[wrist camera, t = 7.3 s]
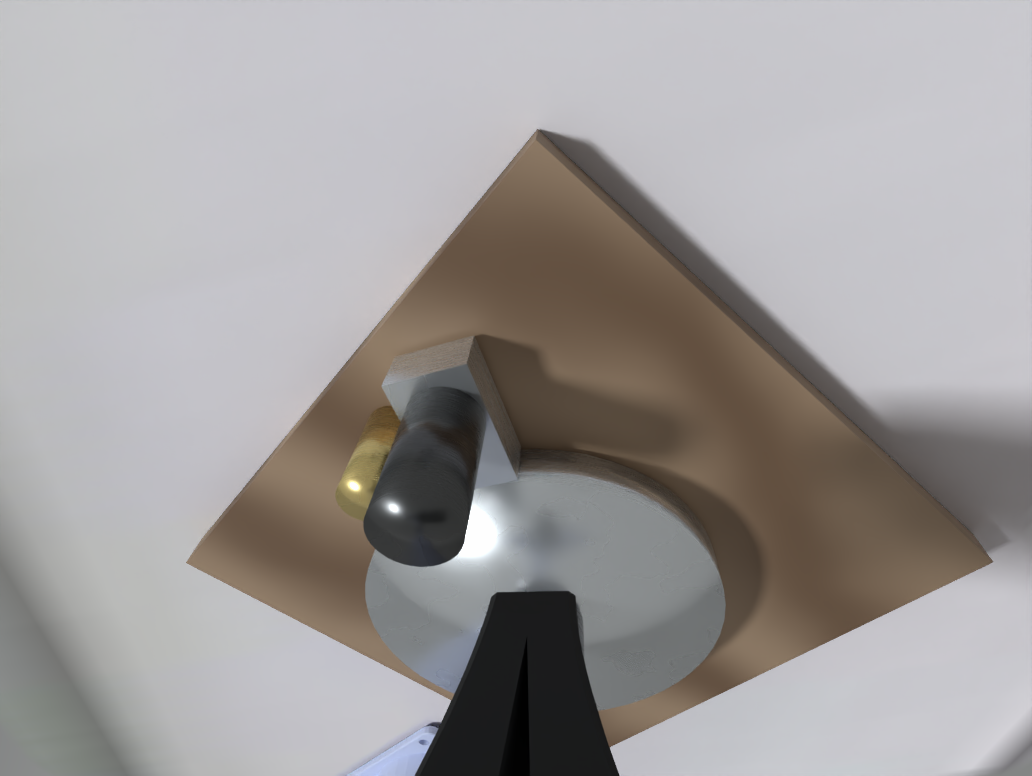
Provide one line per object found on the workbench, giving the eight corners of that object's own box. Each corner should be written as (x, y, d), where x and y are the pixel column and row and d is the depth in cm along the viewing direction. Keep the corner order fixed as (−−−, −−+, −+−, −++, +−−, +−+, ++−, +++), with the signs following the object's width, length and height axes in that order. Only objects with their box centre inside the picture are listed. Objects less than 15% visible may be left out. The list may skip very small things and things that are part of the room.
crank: (739, 656, 24) (780, 818, 19) (451, 692, 26) (427, 842, 22) (650, 287, 16) (684, 414, 11) (250, 396, 18) (144, 534, 14)
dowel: (401, 455, 19) (374, 530, 17) (358, 427, 19) (324, 500, 16) (430, 426, 19) (407, 499, 16) (387, 396, 18) (355, 467, 16)
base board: (574, 738, 30) (574, 763, 29) (202, 539, 24) (186, 562, 23) (973, 534, 21) (993, 562, 20) (537, 128, 15) (535, 139, 14)
